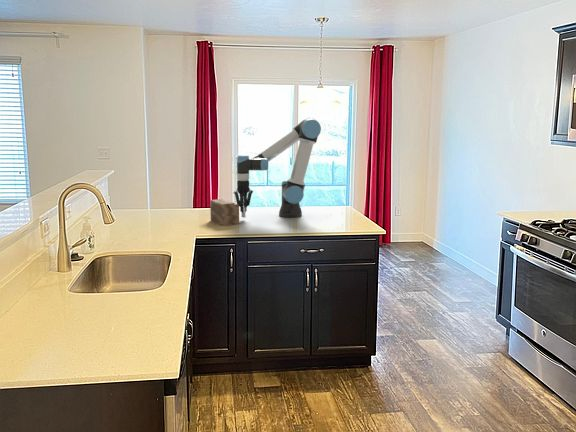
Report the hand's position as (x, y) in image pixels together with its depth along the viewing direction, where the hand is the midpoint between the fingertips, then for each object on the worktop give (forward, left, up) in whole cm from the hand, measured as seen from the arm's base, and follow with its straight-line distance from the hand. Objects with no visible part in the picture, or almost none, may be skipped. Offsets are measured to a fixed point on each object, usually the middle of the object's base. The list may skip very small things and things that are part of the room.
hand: (243, 217), depth 368 cm
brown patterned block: (+14, 0, -2) cm, 14 cm away
